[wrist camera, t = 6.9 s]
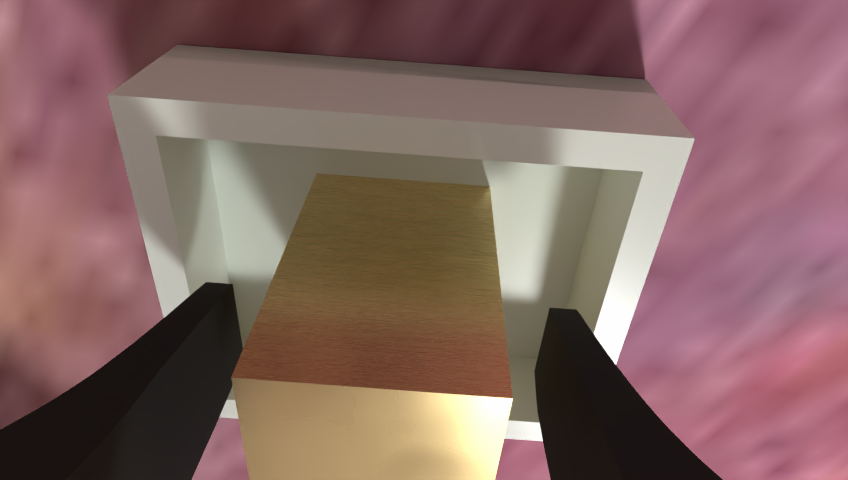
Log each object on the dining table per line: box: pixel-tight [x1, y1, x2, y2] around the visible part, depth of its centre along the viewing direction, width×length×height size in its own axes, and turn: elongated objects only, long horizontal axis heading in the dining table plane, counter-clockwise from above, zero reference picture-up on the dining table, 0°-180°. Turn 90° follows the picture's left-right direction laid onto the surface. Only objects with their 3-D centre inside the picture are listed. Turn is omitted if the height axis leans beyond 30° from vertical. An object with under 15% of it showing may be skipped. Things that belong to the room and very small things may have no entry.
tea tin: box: [231, 173, 513, 480], centre depth 13 cm, size 4×4×7 cm
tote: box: [107, 45, 695, 441], centre depth 16 cm, size 10×12×4 cm
